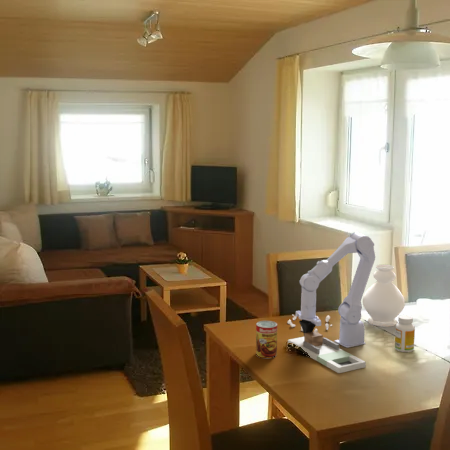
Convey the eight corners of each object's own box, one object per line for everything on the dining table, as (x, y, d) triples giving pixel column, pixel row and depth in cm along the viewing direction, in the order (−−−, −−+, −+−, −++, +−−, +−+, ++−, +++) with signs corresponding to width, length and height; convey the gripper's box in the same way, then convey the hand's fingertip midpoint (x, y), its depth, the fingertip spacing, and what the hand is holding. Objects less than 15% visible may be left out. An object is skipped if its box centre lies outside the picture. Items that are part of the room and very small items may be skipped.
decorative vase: (408, 328, 268) (411, 271, 264) (366, 328, 268) (368, 271, 264) (397, 315, 285) (400, 261, 281) (358, 315, 286) (360, 261, 281)
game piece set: (325, 317, 284) (325, 309, 284) (338, 332, 265) (339, 323, 264) (282, 319, 282) (283, 310, 281) (293, 334, 262) (293, 325, 262)
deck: (312, 339, 255) (313, 330, 254) (365, 367, 227) (365, 356, 226) (287, 344, 249) (288, 334, 248) (338, 373, 221) (339, 362, 221)
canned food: (261, 359, 234) (262, 328, 232) (252, 352, 241) (252, 322, 239) (280, 356, 237) (281, 325, 235) (270, 349, 244) (271, 319, 242)
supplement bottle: (415, 347, 246) (416, 315, 244) (412, 353, 240) (413, 321, 238) (396, 344, 249) (397, 313, 247) (393, 350, 243) (394, 318, 241)
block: (314, 341, 247) (315, 331, 247) (322, 345, 243) (322, 335, 242) (304, 343, 245) (304, 333, 244) (311, 347, 241) (312, 337, 240)
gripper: (289, 301, 250) (288, 334, 252) (310, 311, 237) (310, 346, 239) (304, 299, 253) (303, 331, 255) (326, 308, 240) (325, 343, 242)
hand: (307, 338), depth 247 cm, fingers closed
